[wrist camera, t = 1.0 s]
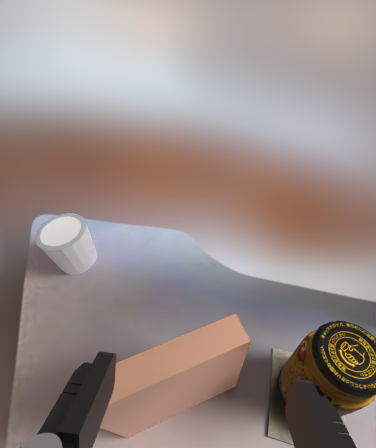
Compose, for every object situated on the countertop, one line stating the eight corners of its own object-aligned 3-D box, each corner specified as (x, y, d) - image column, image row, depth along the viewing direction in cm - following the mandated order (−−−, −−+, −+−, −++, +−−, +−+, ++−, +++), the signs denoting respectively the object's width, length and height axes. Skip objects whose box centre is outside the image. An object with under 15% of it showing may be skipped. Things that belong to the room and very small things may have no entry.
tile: (235, 386, 29) (250, 341, 19) (128, 438, 26) (76, 419, 16) (226, 365, 30) (235, 312, 20) (123, 412, 28) (72, 379, 18)
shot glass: (88, 235, 45) (73, 205, 40) (109, 260, 41) (94, 230, 36) (49, 258, 42) (27, 229, 37) (67, 287, 38) (45, 259, 33)
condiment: (339, 364, 30) (394, 321, 21) (349, 463, 24) (429, 460, 15) (272, 347, 31) (297, 300, 22) (267, 436, 26) (297, 419, 17)
